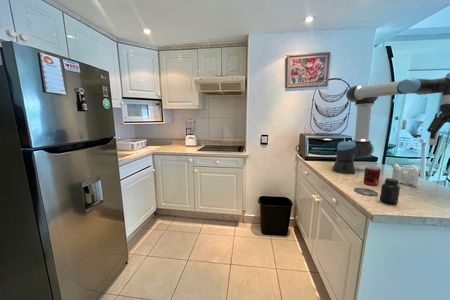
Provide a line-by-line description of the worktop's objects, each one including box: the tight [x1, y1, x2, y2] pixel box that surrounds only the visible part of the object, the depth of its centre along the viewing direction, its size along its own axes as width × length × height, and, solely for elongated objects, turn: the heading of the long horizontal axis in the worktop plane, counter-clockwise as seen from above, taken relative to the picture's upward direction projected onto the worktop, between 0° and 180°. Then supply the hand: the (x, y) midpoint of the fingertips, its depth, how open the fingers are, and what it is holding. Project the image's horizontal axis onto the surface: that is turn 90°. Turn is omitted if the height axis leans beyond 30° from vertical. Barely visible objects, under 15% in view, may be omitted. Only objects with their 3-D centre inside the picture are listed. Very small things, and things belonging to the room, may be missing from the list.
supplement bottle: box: [379, 177, 401, 206], centre depth 93 cm, size 7×7×12 cm
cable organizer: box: [391, 163, 421, 188], centre depth 120 cm, size 15×11×12 cm
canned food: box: [363, 165, 382, 187], centre depth 119 cm, size 8×8×11 cm
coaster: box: [353, 187, 379, 197], centre depth 107 cm, size 11×11×1 cm
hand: (442, 144), depth 101 cm, fingers open, 13 cm apart
